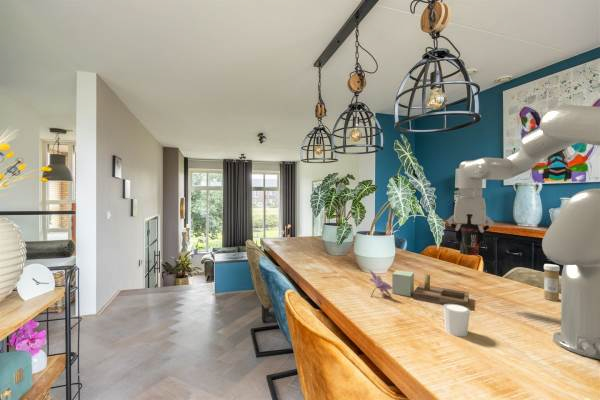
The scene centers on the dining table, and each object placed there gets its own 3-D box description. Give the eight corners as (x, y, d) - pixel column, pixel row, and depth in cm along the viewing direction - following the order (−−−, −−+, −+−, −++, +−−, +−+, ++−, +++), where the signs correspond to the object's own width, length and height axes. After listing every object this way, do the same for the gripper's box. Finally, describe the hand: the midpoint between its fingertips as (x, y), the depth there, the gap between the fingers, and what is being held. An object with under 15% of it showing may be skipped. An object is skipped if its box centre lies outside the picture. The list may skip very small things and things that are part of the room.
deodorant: (469, 255, 102) (469, 214, 101) (456, 252, 107) (457, 213, 107) (482, 255, 103) (483, 214, 103) (469, 251, 109) (470, 213, 109)
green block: (410, 296, 111) (410, 276, 110) (392, 293, 114) (392, 273, 114) (413, 291, 116) (414, 272, 116) (396, 288, 120) (396, 270, 120)
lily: (393, 305, 104) (401, 281, 106) (363, 292, 105) (372, 268, 108) (383, 304, 115) (391, 282, 118) (357, 291, 116) (365, 270, 119)
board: (467, 309, 98) (467, 285, 98) (413, 298, 108) (413, 277, 108) (468, 298, 109) (469, 276, 109) (419, 289, 119) (419, 270, 119)
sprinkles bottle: (560, 300, 108) (561, 265, 108) (557, 302, 106) (557, 266, 106) (545, 296, 112) (546, 263, 112) (541, 298, 110) (542, 264, 110)
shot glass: (445, 324, 86) (446, 301, 86) (471, 331, 82) (471, 307, 82) (440, 332, 81) (440, 308, 81) (467, 340, 76) (467, 314, 76)
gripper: (443, 193, 107) (442, 240, 107) (498, 194, 97) (497, 246, 97) (446, 194, 113) (445, 238, 113) (498, 194, 103) (497, 243, 103)
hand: (469, 241), depth 105 cm, fingers closed on deodorant, 5 cm apart
